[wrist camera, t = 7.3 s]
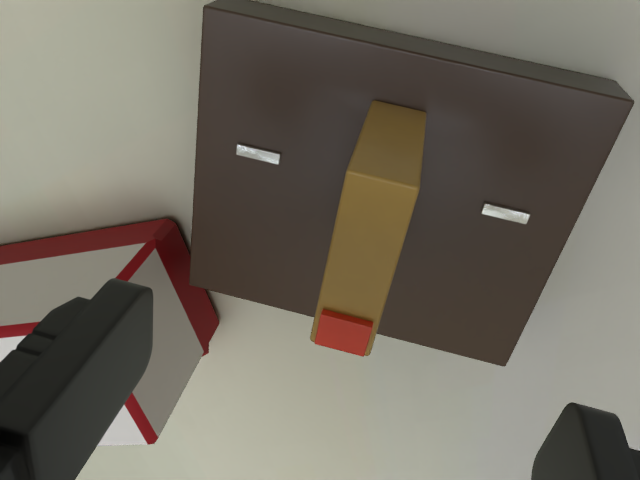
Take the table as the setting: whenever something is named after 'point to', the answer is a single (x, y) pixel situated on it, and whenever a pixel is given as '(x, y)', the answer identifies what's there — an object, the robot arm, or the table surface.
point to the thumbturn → (370, 227)
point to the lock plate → (436, 174)
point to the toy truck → (87, 279)
